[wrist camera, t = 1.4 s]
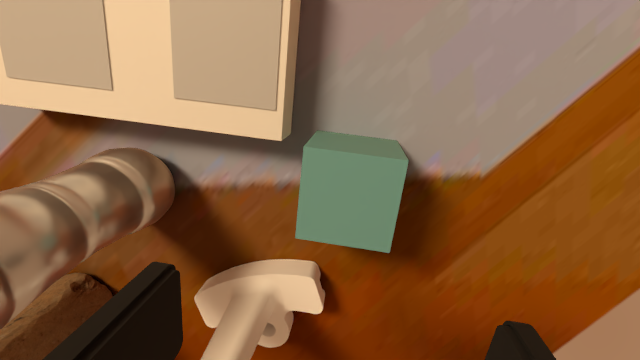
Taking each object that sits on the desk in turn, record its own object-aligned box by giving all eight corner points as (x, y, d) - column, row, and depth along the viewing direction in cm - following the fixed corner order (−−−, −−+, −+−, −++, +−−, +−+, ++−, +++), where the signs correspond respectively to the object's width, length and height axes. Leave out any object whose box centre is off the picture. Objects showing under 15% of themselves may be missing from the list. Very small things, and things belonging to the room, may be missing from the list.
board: (303, -34, 20) (293, -53, 17) (290, 133, 24) (280, 141, 21) (0, -59, 22) (-56, -80, 19) (31, 99, 25) (-12, 102, 22)
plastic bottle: (117, 129, 25) (-597, 278, 6) (193, 159, 25) (-299, 397, 6) (108, 197, 27) (-446, 456, 9) (179, 224, 27) (-223, 545, 9)
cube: (396, 140, 23) (408, 160, 17) (383, 213, 25) (389, 253, 19) (317, 130, 23) (303, 146, 18) (309, 202, 25) (295, 237, 20)
